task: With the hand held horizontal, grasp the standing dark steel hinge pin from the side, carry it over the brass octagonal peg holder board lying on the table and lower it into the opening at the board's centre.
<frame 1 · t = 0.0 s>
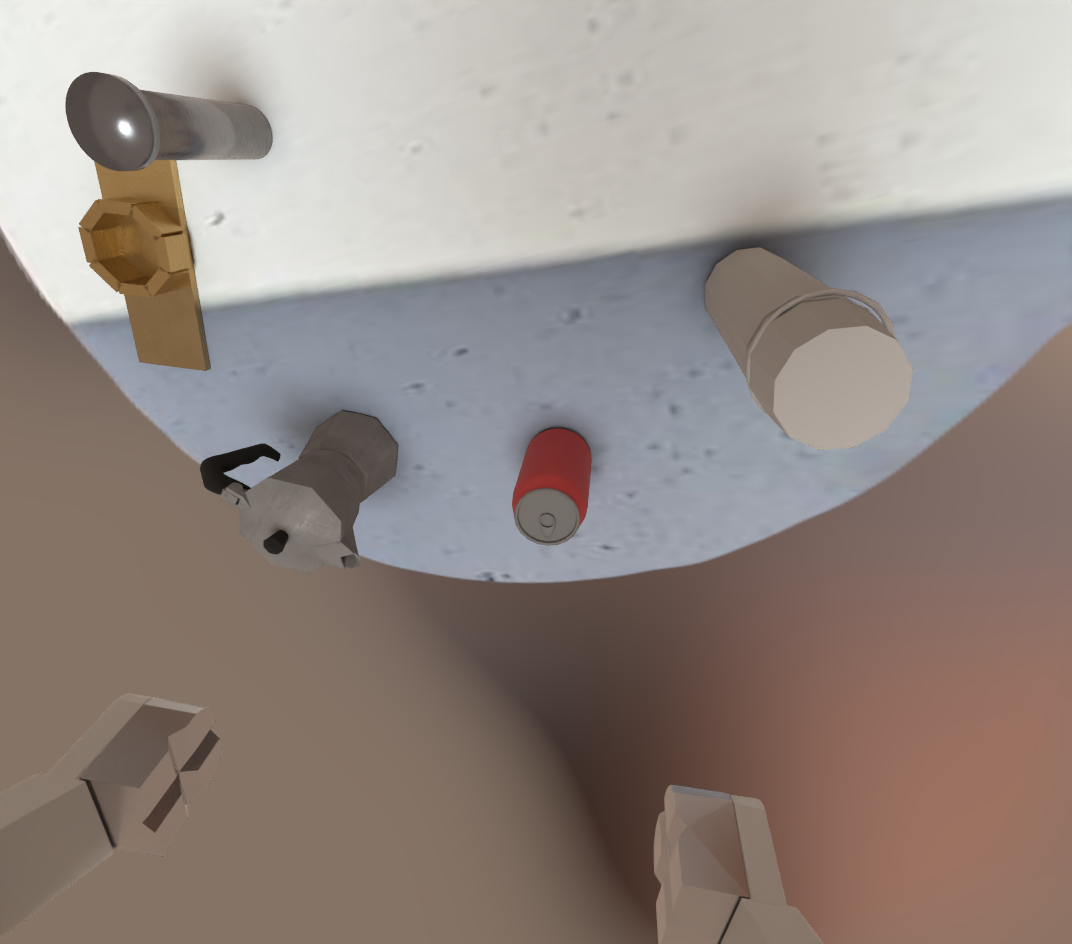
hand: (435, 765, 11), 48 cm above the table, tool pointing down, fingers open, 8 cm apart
hinge pin: (249, 132, 51), on the table
octagonal peg holder board: (154, 244, 56), on the table
coffeepot: (349, 443, 64), on the table
water bottle: (755, 291, 52), on the table
beer can: (559, 455, 61), on the table
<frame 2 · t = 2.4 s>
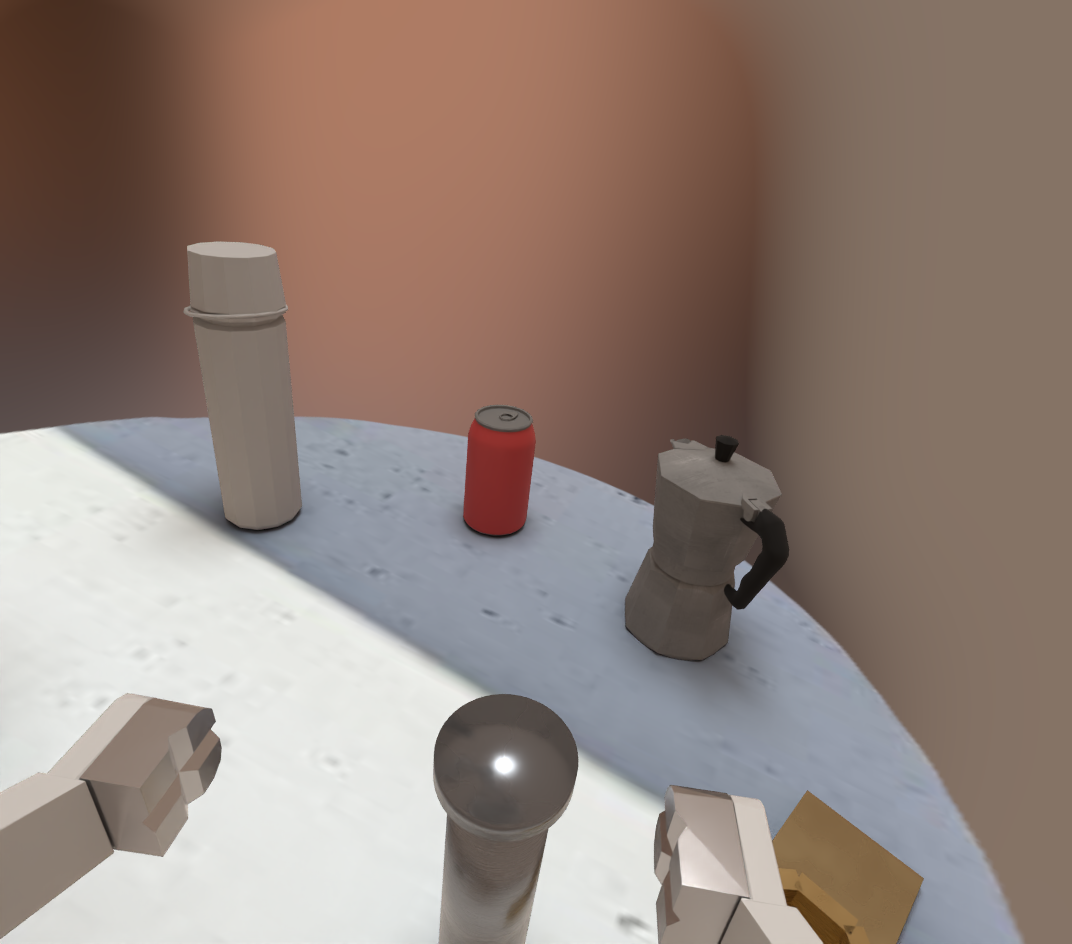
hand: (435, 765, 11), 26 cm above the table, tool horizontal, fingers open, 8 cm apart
coffeepot: (679, 633, 52), on the table
water bottle: (261, 510, 61), on the table
beer can: (494, 522, 64), on the table
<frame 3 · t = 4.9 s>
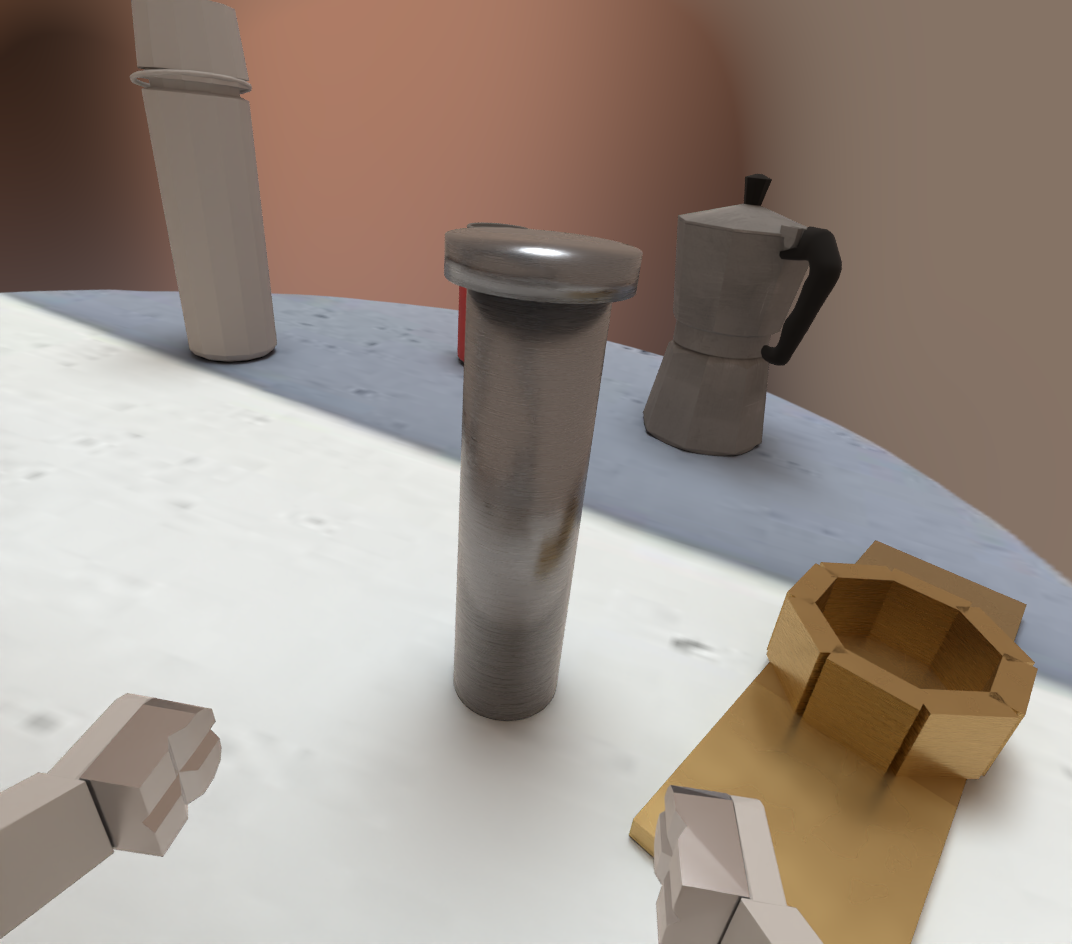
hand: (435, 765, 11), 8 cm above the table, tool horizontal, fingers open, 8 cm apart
hinge pin: (505, 677, 24), on the table
octagonal peg holder board: (869, 700, 24), on the table
coffeepot: (706, 439, 46), on the table
water bottle: (231, 351, 54), on the table
beer can: (491, 363, 58), on the table
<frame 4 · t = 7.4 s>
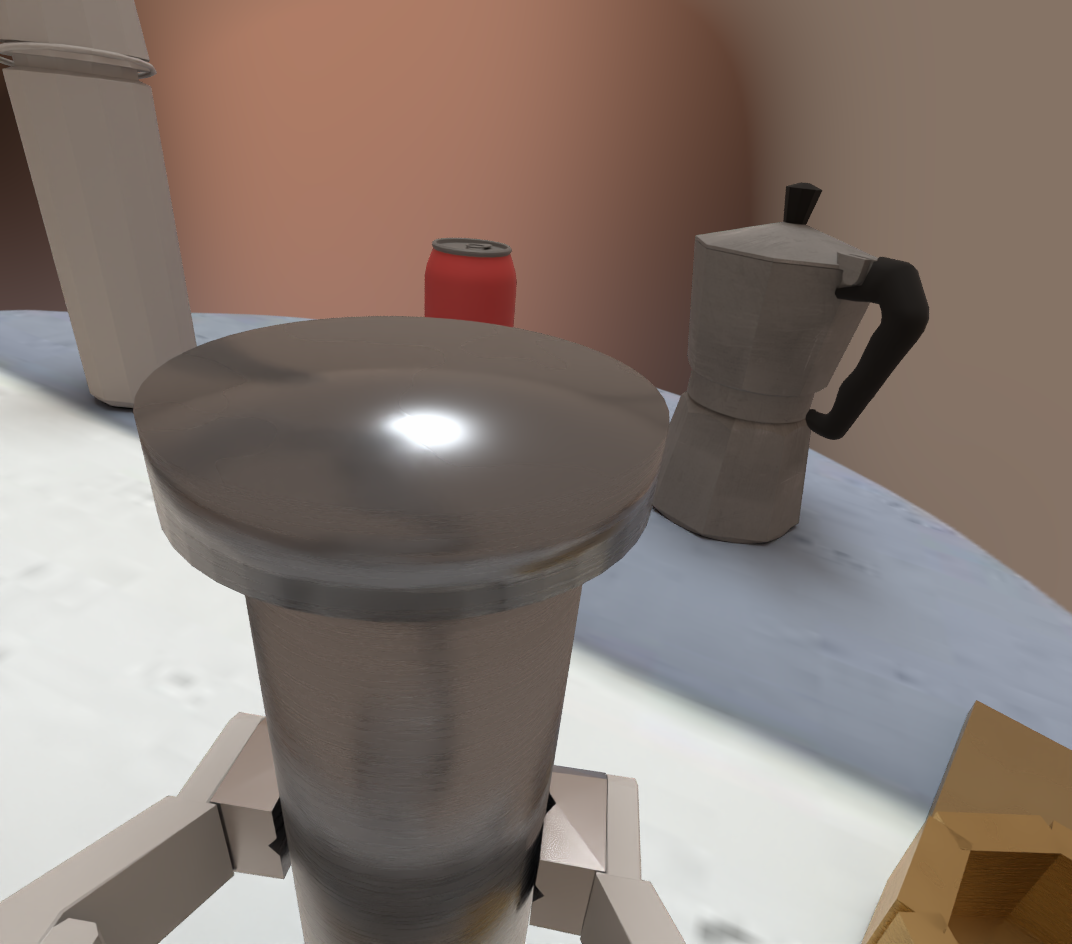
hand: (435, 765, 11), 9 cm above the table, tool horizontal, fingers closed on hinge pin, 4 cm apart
coffeepot: (727, 515, 37), on the table
water bottle: (147, 392, 45), on the table
beer can: (466, 405, 48), on the table
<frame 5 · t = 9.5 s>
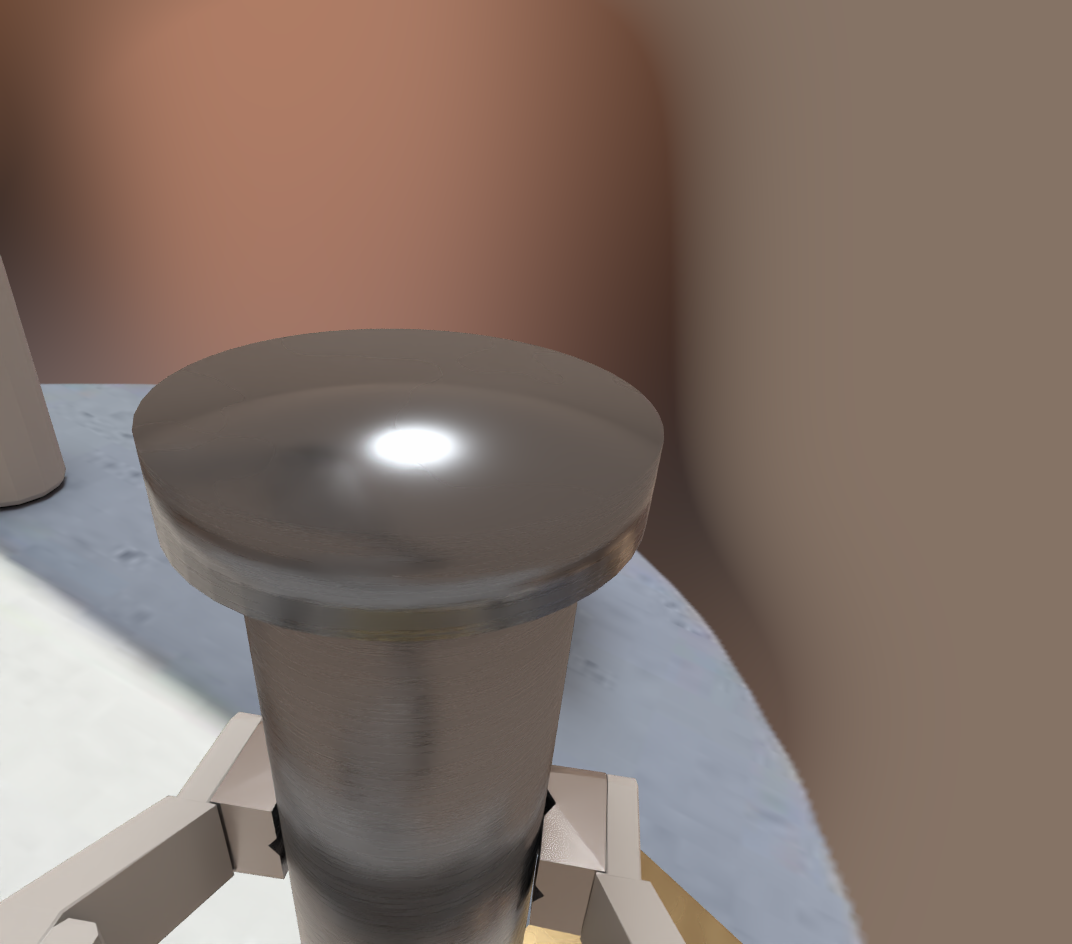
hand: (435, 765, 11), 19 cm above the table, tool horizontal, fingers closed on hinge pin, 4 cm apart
water bottle: (12, 486, 49), on the table
when the fingers open (10 cm above the table, at t = 11.9 s): hinge pin stays where it is, resting on octagonal peg holder board.
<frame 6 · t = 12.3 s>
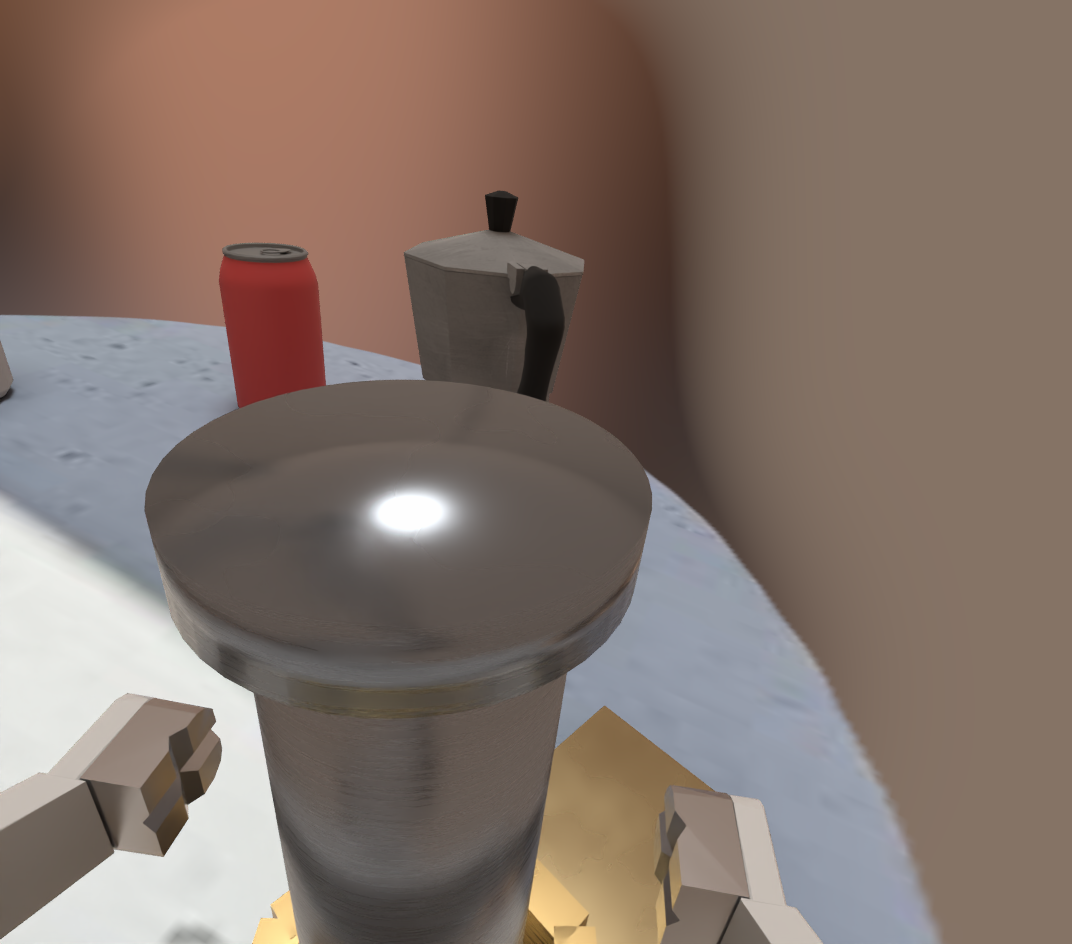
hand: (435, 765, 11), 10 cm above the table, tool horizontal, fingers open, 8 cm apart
coffeepot: (487, 519, 37), on the table
beer can: (284, 409, 48), on the table
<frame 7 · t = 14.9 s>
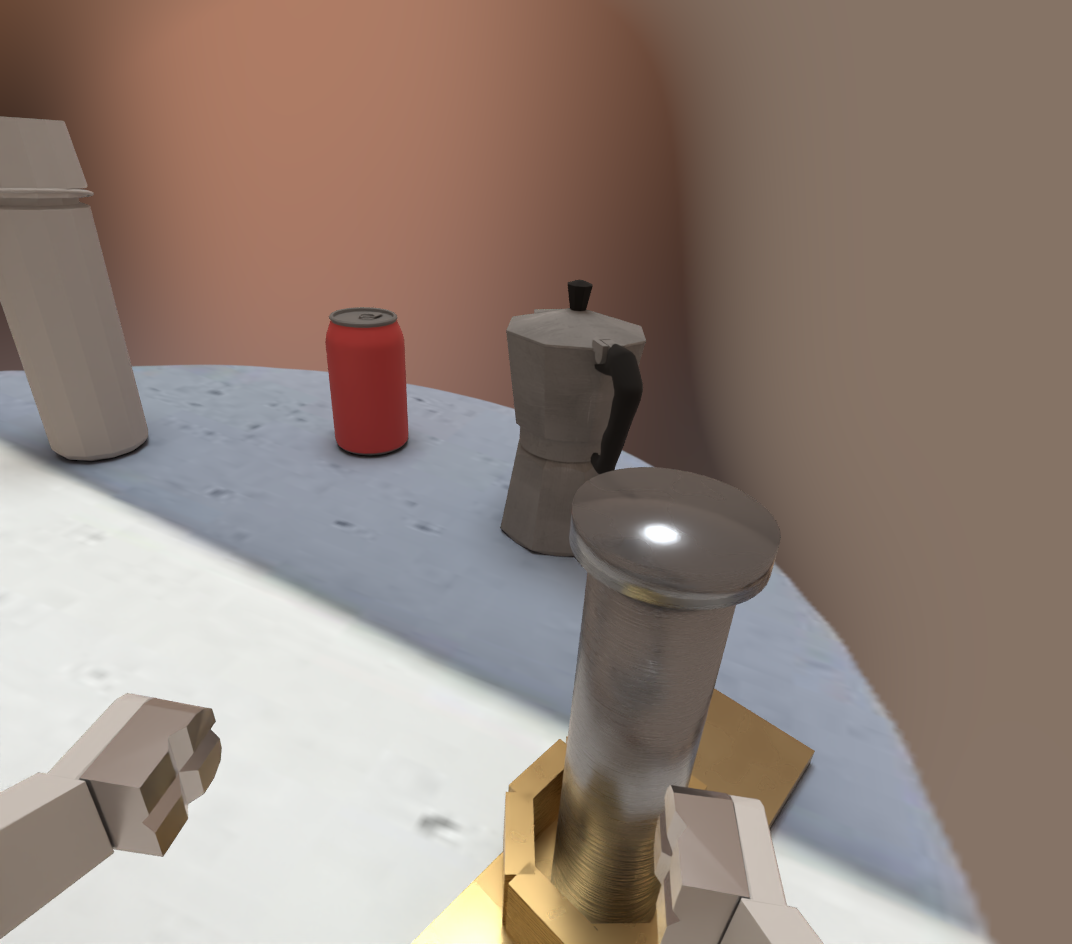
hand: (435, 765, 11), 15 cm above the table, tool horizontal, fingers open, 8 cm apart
hinge pin: (604, 881, 23), point 1 cm above the table, touching octagonal peg holder board
octagonal peg holder board: (604, 891, 23), on the table
coffeepot: (563, 533, 45), on the table
water bottle: (102, 445, 54), on the table
beer can: (373, 444, 57), on the table
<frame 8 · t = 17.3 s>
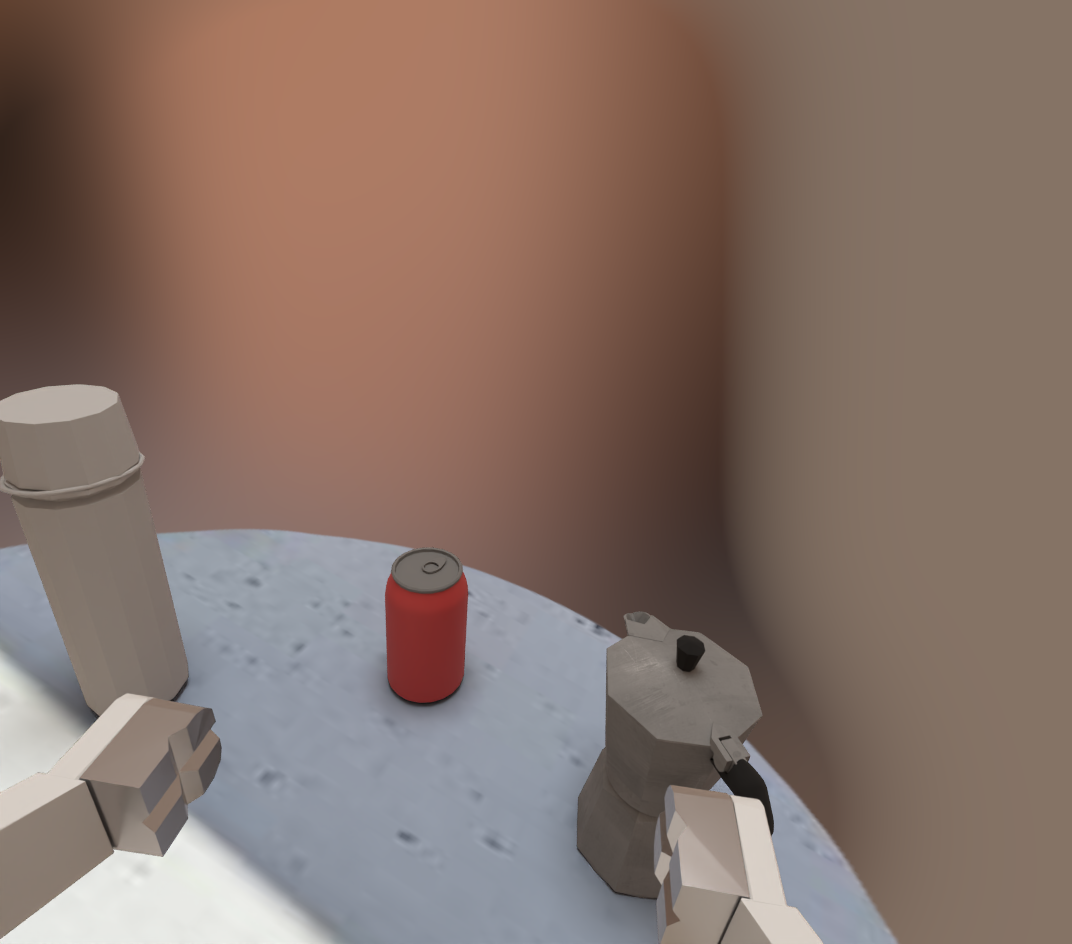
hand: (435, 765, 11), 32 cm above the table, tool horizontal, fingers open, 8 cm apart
coffeepot: (643, 849, 42), on the table
water bottle: (138, 683, 50), on the table
beer can: (426, 678, 53), on the table
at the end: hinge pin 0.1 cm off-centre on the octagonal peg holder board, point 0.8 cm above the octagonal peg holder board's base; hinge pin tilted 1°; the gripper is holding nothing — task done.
